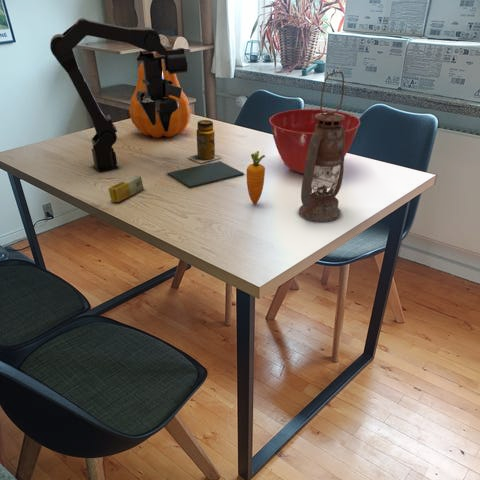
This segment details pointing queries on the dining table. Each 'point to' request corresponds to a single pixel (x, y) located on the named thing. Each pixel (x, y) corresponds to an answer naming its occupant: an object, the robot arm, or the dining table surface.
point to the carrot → (255, 178)
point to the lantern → (324, 166)
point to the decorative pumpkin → (140, 118)
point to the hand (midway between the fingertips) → (160, 128)
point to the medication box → (126, 188)
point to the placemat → (205, 174)
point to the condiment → (205, 142)
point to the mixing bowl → (303, 134)
